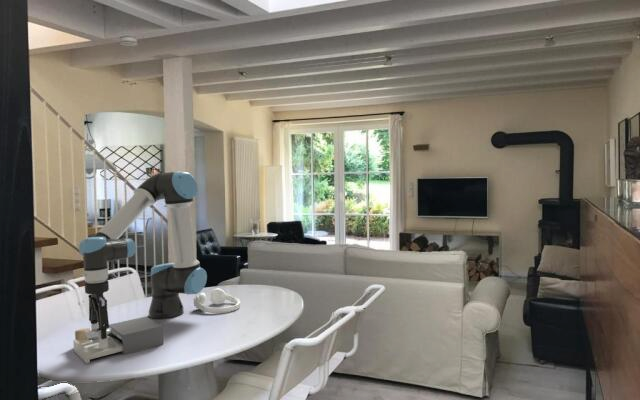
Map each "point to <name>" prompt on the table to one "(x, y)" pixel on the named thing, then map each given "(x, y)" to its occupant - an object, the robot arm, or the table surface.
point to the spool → (82, 335)
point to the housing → (137, 334)
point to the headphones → (215, 301)
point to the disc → (94, 334)
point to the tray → (96, 349)
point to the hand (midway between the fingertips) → (99, 344)
